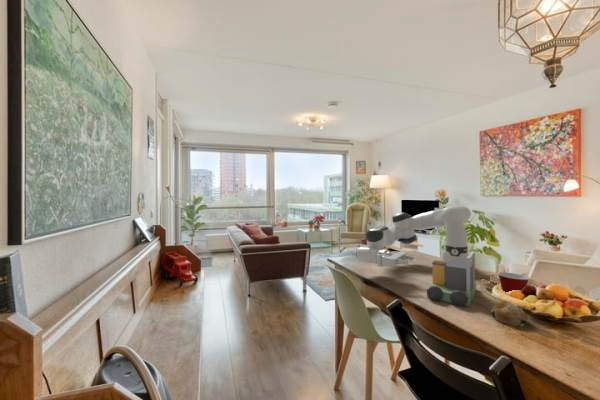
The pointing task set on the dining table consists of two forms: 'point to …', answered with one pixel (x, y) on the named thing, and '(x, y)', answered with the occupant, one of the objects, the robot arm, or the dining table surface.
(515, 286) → the plastic cup
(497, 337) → the dining table surface
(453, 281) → the green wheeled cart
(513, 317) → the grey brown rounded lump
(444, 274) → the orange tall cylinder
